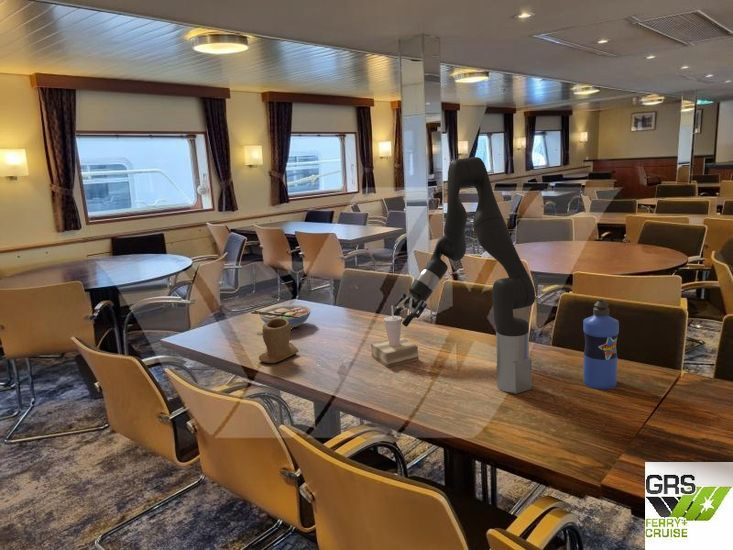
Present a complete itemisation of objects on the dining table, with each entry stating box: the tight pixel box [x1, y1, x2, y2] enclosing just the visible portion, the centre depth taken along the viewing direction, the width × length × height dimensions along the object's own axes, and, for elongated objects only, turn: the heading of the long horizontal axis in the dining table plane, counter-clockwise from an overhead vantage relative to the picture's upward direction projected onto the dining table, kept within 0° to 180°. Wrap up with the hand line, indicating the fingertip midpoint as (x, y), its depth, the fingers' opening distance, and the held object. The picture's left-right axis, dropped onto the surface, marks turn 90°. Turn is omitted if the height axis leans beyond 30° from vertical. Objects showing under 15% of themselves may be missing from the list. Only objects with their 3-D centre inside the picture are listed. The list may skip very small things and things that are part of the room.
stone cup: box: [258, 318, 299, 364], centre depth 196 cm, size 15×12×15 cm
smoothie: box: [383, 305, 403, 347], centre depth 187 cm, size 6×6×14 cm
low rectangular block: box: [370, 336, 420, 369], centre depth 189 cm, size 12×12×5 cm
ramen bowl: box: [250, 303, 312, 329], centre depth 233 cm, size 25×23×8 cm
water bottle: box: [582, 299, 620, 390], centre depth 156 cm, size 9×9×25 cm
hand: (398, 322), depth 187 cm, fingers open, 8 cm apart
